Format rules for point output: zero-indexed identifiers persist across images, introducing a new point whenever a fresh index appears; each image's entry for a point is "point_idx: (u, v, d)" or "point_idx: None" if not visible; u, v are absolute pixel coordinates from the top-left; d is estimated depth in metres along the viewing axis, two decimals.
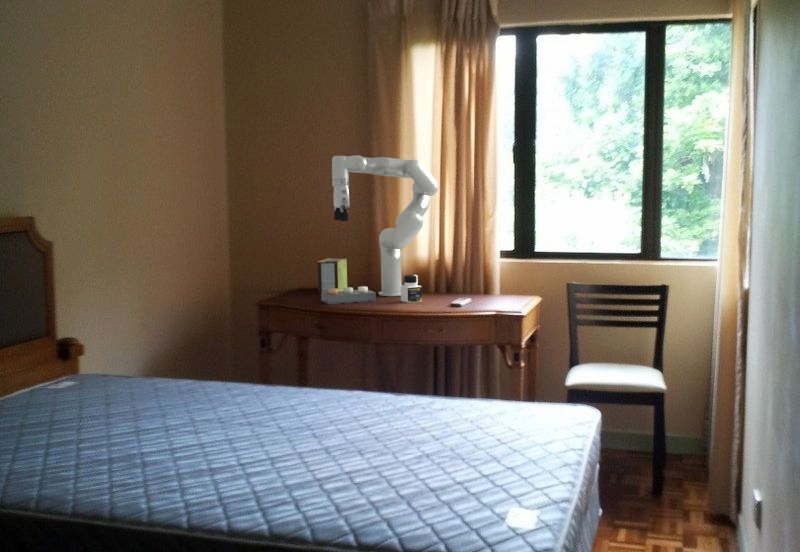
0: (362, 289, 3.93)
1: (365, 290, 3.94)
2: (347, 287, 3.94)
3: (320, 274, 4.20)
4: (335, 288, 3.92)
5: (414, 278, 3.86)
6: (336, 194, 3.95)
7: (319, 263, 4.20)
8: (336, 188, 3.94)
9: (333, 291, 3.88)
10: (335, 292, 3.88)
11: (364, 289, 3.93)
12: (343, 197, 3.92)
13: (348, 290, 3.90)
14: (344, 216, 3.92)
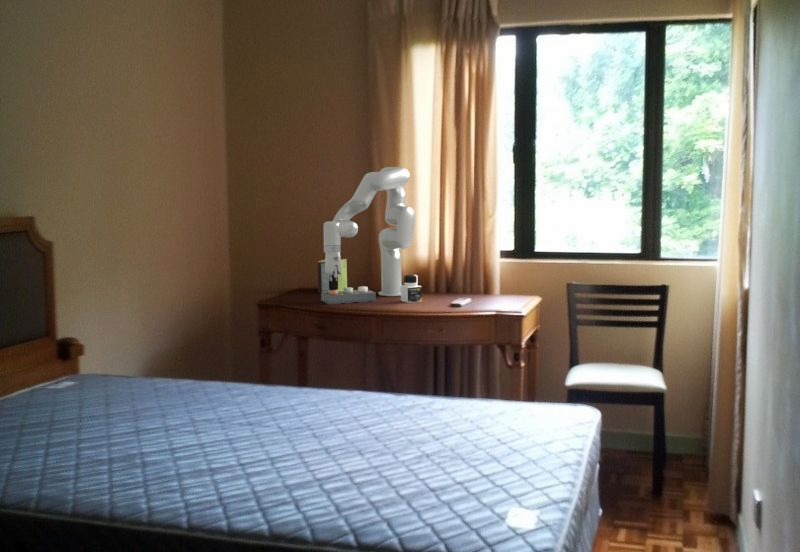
0: (362, 289, 3.93)
1: (365, 290, 3.94)
2: (347, 287, 3.94)
3: (320, 274, 4.20)
4: None
5: (414, 278, 3.86)
6: (328, 261, 3.86)
7: (319, 263, 4.20)
8: (328, 254, 3.86)
9: (333, 291, 3.88)
10: (335, 293, 3.88)
11: (364, 289, 3.93)
12: (335, 264, 3.84)
13: (348, 290, 3.90)
14: (333, 285, 3.88)
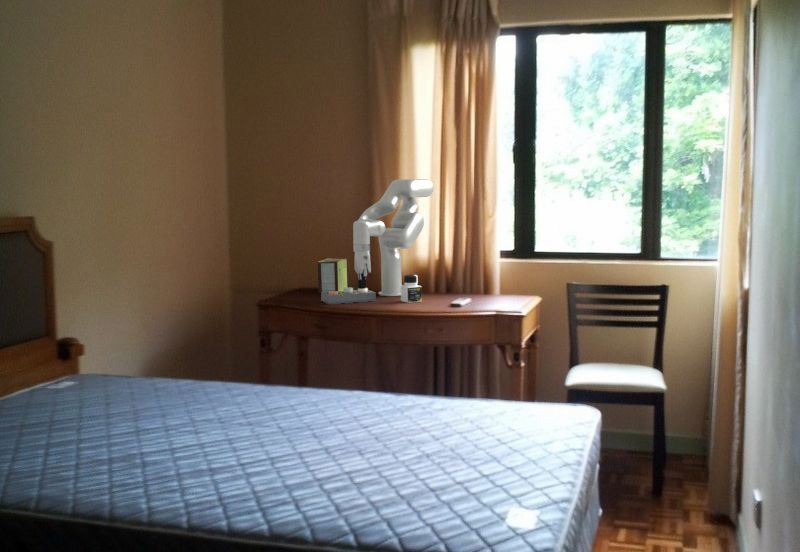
0: (362, 290, 3.93)
1: (365, 291, 3.94)
2: (347, 287, 3.94)
3: (320, 274, 4.20)
4: (335, 291, 3.92)
5: (414, 278, 3.86)
6: (357, 259, 3.91)
7: (319, 263, 4.20)
8: (357, 253, 3.91)
9: (333, 293, 3.88)
10: None
11: (364, 290, 3.93)
12: (365, 263, 3.89)
13: (348, 290, 3.90)
14: (362, 284, 3.93)
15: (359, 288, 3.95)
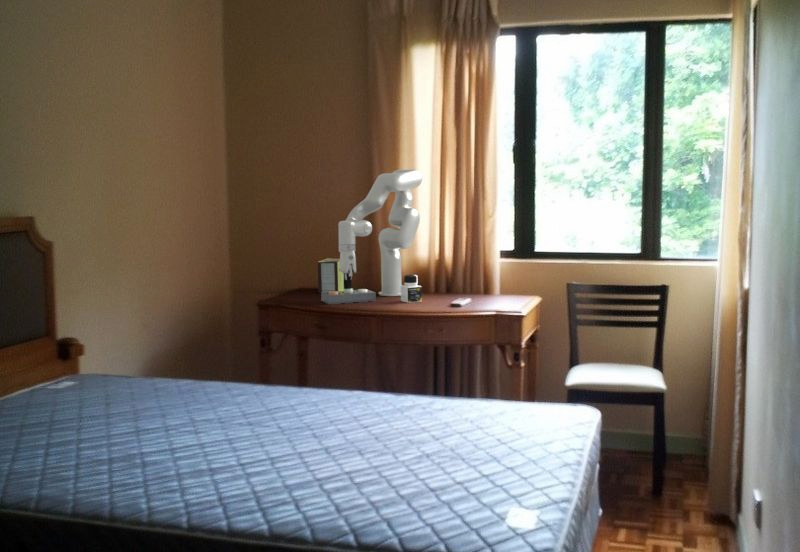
0: None
1: None
2: None
3: (320, 274, 4.20)
4: (335, 291, 3.92)
5: (414, 278, 3.86)
6: (342, 259, 3.89)
7: (319, 263, 4.20)
8: (342, 253, 3.88)
9: (333, 293, 3.88)
10: None
11: None
12: (350, 263, 3.86)
13: (348, 291, 3.90)
14: (348, 284, 3.91)
15: (359, 289, 3.95)
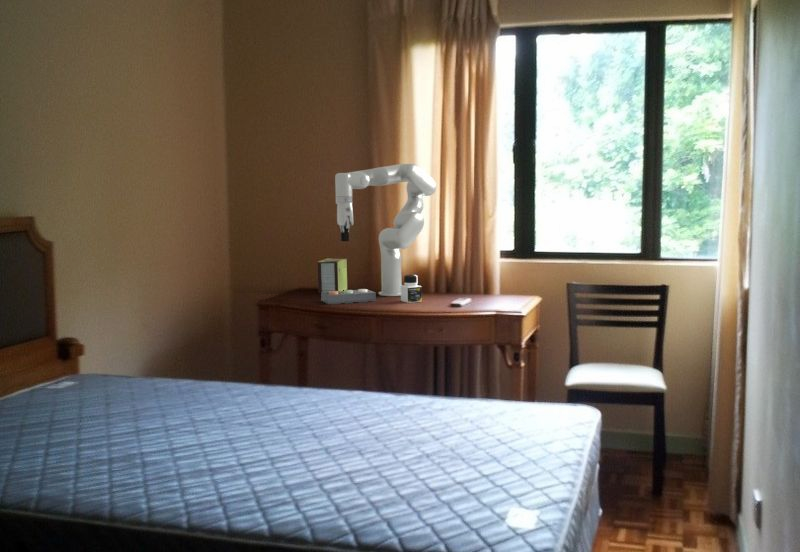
0: None
1: None
2: (347, 290, 3.95)
3: (320, 274, 4.20)
4: (335, 291, 3.92)
5: (414, 278, 3.86)
6: (340, 212, 3.89)
7: (319, 263, 4.20)
8: (340, 206, 3.89)
9: (333, 293, 3.88)
10: None
11: None
12: (347, 215, 3.87)
13: None
14: (345, 236, 3.91)
15: (359, 289, 3.95)
